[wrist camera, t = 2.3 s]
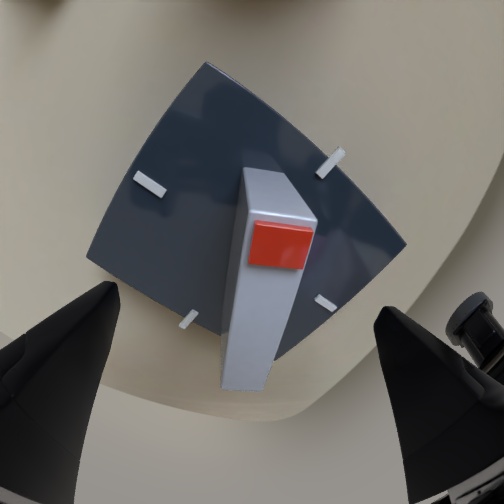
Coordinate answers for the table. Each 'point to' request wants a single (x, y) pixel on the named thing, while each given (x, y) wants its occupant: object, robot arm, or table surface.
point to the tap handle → (262, 275)
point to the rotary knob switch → (234, 209)
